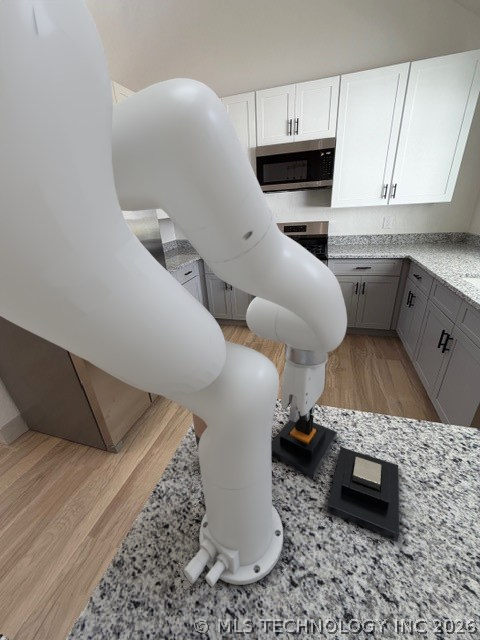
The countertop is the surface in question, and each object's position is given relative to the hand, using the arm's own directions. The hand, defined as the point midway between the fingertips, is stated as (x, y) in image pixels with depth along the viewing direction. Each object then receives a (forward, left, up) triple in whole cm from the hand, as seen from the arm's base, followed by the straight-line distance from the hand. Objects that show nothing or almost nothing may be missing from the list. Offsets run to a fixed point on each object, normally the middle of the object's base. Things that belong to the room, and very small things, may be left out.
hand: (303, 430), depth 56 cm
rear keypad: (0, 0, -4) cm, 4 cm away
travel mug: (-13, +12, -4) cm, 18 cm away
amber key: (0, 0, -2) cm, 2 cm away
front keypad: (-3, -13, -4) cm, 14 cm away
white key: (-3, -13, -1) cm, 13 cm away
